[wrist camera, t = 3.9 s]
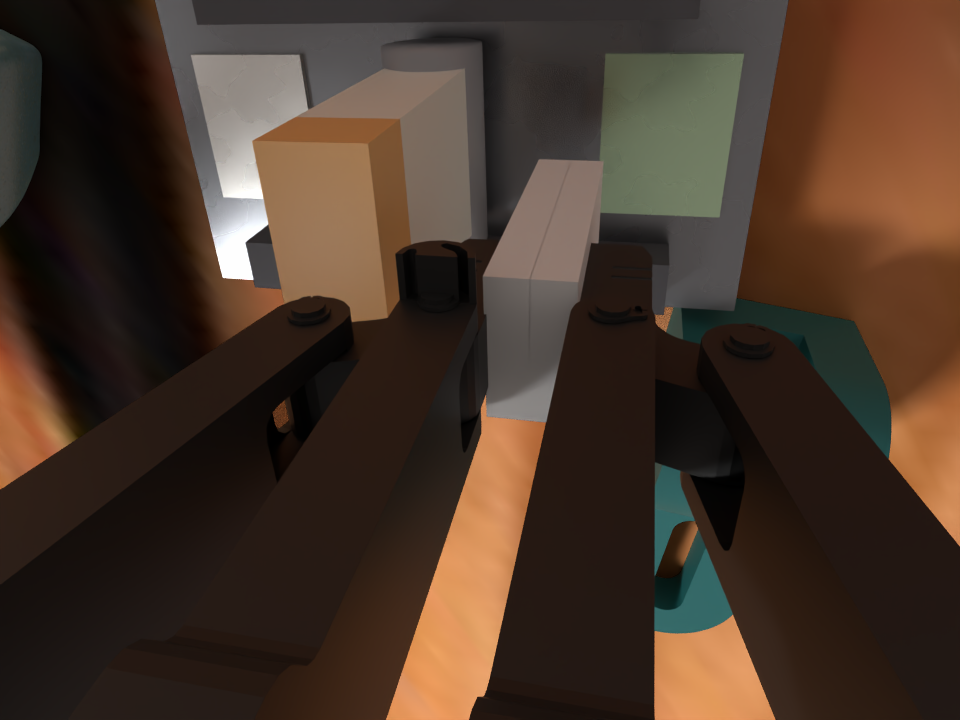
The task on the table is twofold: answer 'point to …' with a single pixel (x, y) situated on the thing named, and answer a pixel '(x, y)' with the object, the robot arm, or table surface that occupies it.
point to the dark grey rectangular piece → (438, 3)
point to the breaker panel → (521, 118)
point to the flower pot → (18, 119)
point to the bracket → (697, 588)
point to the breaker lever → (378, 174)
